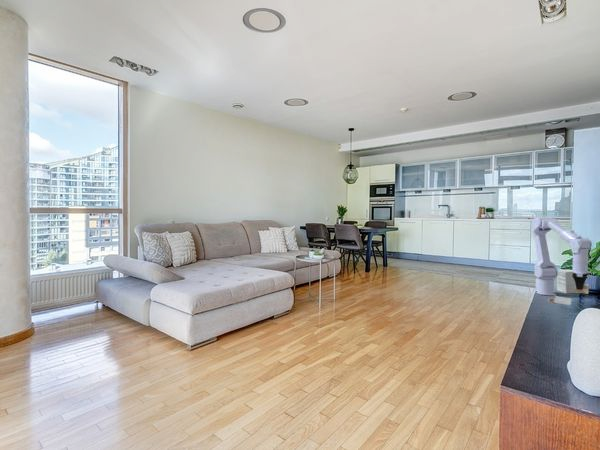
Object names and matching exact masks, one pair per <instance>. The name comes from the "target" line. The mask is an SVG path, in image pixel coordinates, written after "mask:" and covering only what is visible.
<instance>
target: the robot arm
mask: <svg viewBox="0 0 600 450" xmlns="http://www.w3.org/2000/svg"><path fill="white" fill-rule="evenodd" d="M531 229H532V232H533V239H534V243H535V248H536V255H537V260H538V262H537V263H535V264H534V270H533V273H534V275H535V277H536V279H535V289H534V290H533V292H535V293H537V295H538V294H539V295H542V296H557V294H556V293H555V292H554V291H555V290H554V288H555V287H554V286H555V281H554V280H556V278H557V275H558V271H557V270H558V269H557V267H556V264H555V263H553V262H552V261H551V258H550V253H549V247H548V242H547V238H546V237H547V236H546V234H547V233H549V232H550V231H551V230H552V231H554V232H556V233H558V234H559V235H560V238H561V239H562V240H564V241H565V242H567V243H568V244H569V247H570V248H571V252H572V268H571V270H572V272H574V273H573V275H572V277H573V278H574V280H575V284H576V289H579V290H582V289H583V286H584V284H585V282H586V280H587V279H588V274H591V273H592V272H591V271H589V269H588V268H589V265H588V263H589V250H591V248H592V246H593V245H592V240H590V239H589V237H582V236H581V235H579V234H577V232H575V231H574V230H573V229H566V228H565V227H564V226H563V225H561V223H558V219H556V218H554V217H535V218H533V219H532V221H531ZM536 291H537V292H536ZM557 297H558V296H557Z"/></svg>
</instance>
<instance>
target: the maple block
mask: <svg viewBox="0 0 600 450" xmlns="http://www.w3.org/2000/svg"><path fill="white" fill-rule="evenodd" d="M589 287H590V285H589V284H587V283H586V284H585V283H584V286H583V289H582V290H579V289H576V284H575V292H578V293H577V294H586V295H588V294H589Z"/></svg>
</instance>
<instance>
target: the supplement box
mask: <svg viewBox="0 0 600 450" xmlns="http://www.w3.org/2000/svg"><path fill="white" fill-rule="evenodd" d="M557 271H558V275H557V277H556V290H557V291H558V292H561V293H564V294H579V293H578V292H575V280H574V278H573V277H572V275H573V273H574V272H572V269H557Z"/></svg>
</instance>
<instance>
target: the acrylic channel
mask: <svg viewBox="0 0 600 450" xmlns="http://www.w3.org/2000/svg"><path fill="white" fill-rule="evenodd" d="M554 296H555V295H554ZM554 299H555V301H554V303H556V304H561V305H567V306H571V305H572V298H570V297H563V296H555V298H554Z"/></svg>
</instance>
